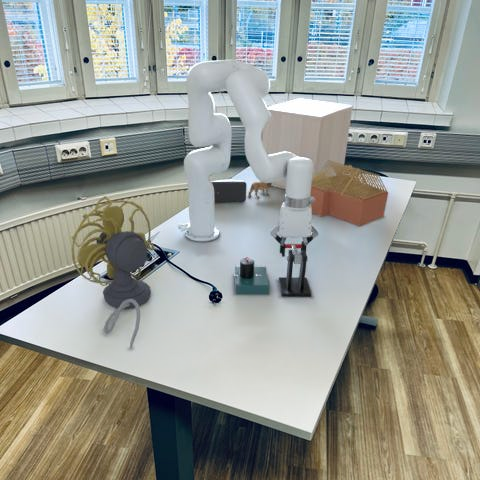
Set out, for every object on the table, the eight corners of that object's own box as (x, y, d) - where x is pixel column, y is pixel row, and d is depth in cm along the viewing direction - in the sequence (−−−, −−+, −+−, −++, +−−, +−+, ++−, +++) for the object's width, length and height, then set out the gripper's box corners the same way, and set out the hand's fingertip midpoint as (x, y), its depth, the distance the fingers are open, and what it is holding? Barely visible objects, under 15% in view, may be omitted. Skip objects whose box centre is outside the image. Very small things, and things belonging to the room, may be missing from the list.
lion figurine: (265, 190, 221) (266, 171, 215) (274, 193, 218) (275, 174, 213) (244, 198, 212) (245, 178, 207) (253, 201, 209) (254, 181, 204)
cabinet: (293, 166, 253) (299, 98, 234) (342, 177, 240) (353, 105, 221) (259, 183, 229) (263, 108, 210) (312, 195, 216) (321, 116, 197)
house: (301, 208, 202) (305, 163, 191) (336, 197, 215) (342, 154, 204) (351, 228, 185) (359, 181, 174) (386, 215, 197) (396, 170, 186)
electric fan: (149, 274, 151) (139, 184, 134) (207, 317, 131) (205, 217, 114) (72, 301, 137) (50, 203, 120) (125, 354, 117) (108, 245, 100)
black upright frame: (278, 280, 149) (281, 245, 142) (306, 280, 150) (310, 246, 143) (281, 296, 141) (284, 260, 134) (310, 296, 141) (315, 260, 134)
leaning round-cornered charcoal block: (245, 199, 210) (245, 178, 205) (246, 203, 206) (246, 182, 201) (209, 200, 209) (209, 179, 203) (209, 203, 205) (209, 182, 200)
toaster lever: (284, 248, 149) (284, 241, 148) (301, 249, 149) (301, 242, 148) (288, 264, 139) (289, 256, 138) (306, 264, 139) (307, 256, 138)
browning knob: (254, 278, 143) (254, 263, 140) (240, 278, 143) (240, 263, 140) (253, 272, 147) (253, 257, 144) (239, 272, 147) (239, 257, 144)
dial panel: (233, 294, 142) (233, 284, 140) (232, 275, 152) (232, 266, 150) (268, 294, 142) (268, 284, 140) (265, 275, 152) (266, 266, 150)
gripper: (323, 196, 143) (316, 250, 153) (267, 196, 142) (265, 250, 152) (327, 205, 136) (320, 260, 147) (269, 205, 136) (266, 260, 146)
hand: (292, 254), depth 149 cm, fingers closed on toaster lever, 5 cm apart
